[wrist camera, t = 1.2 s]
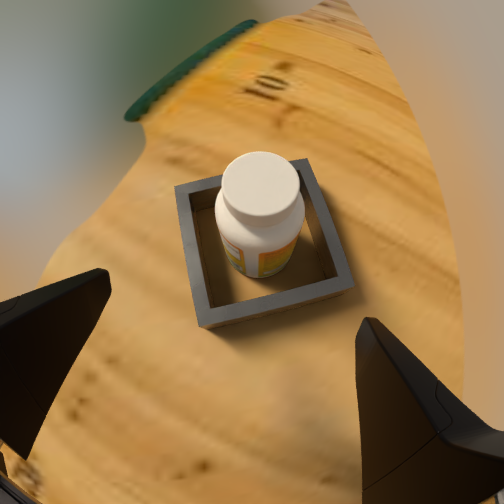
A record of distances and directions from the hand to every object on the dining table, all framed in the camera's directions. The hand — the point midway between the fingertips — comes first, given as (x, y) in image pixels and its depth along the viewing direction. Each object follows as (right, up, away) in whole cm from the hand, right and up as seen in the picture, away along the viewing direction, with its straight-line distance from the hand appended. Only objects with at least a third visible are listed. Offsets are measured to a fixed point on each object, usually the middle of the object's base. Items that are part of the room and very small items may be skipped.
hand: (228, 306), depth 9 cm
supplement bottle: (+1, +2, +14) cm, 14 cm away
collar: (+1, +2, +14) cm, 14 cm away
